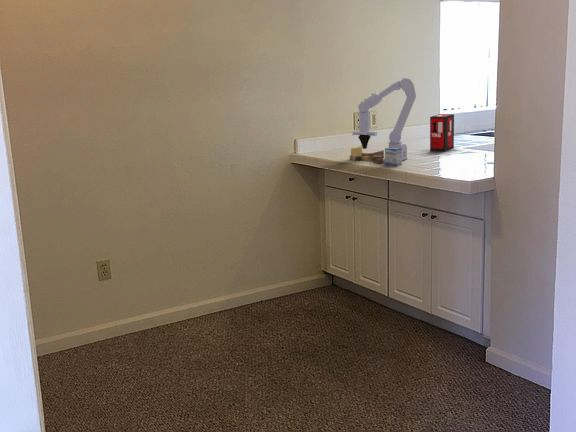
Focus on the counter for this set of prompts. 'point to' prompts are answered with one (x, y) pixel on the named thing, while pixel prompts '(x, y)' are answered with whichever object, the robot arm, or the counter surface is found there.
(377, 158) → the walnut crate
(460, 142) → the counter surface
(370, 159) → the brown wooden drawer
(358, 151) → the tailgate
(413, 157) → the counter surface
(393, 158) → the medicine box
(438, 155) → the counter surface
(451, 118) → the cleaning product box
